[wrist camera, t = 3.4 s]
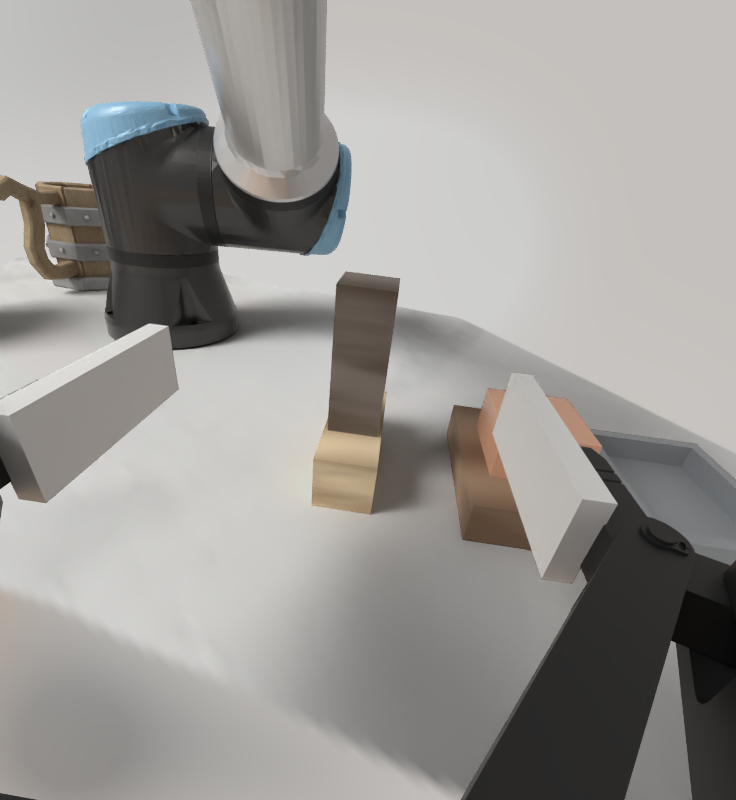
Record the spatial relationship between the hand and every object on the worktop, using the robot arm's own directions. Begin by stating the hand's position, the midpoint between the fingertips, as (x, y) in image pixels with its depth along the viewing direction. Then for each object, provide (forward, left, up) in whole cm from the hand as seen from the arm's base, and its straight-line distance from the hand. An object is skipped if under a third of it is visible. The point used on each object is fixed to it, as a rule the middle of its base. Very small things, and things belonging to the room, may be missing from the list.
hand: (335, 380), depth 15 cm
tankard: (-44, -48, -13) cm, 66 cm away
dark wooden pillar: (-10, 0, -12) cm, 16 cm away
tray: (-10, +24, -12) cm, 29 cm away
